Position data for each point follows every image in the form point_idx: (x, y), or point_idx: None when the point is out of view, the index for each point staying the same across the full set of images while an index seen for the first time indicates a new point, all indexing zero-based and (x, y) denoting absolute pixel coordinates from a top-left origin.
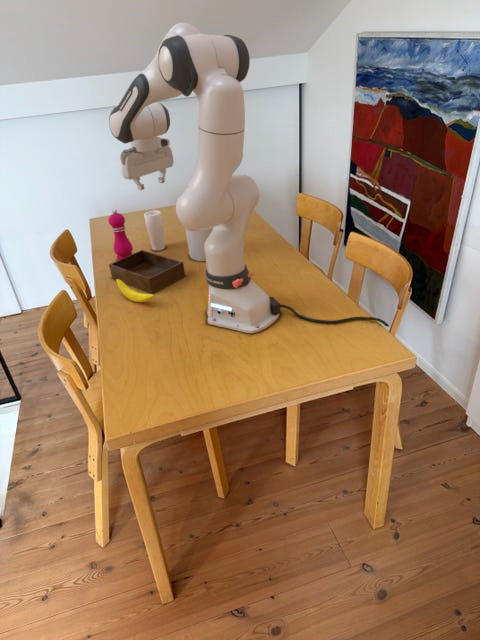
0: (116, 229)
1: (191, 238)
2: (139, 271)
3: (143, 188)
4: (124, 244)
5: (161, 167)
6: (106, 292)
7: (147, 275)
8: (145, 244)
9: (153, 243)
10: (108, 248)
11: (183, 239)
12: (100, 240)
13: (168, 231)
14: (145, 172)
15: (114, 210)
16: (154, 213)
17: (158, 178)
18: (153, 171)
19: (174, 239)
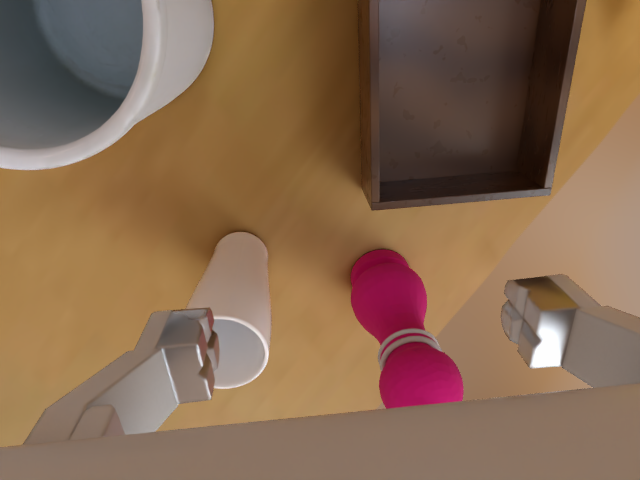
0: (437, 344)
1: (191, 3)
2: (437, 128)
3: (531, 279)
4: (403, 288)
5: (128, 468)
6: (618, 87)
7: (449, 63)
8: None
9: (266, 262)
10: (352, 388)
11: (113, 250)
12: None
13: (115, 357)
14: (630, 418)
15: None
16: None
17: (211, 387)
18: (383, 418)
19: (142, 278)
